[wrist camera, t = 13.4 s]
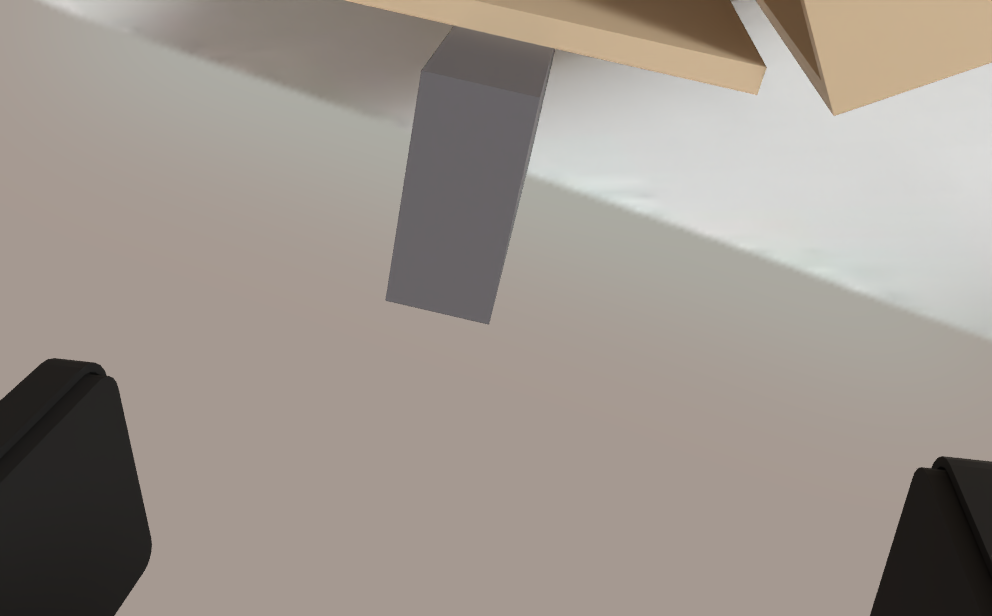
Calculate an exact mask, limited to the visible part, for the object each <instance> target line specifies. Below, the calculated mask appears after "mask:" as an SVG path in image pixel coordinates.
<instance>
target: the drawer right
mask: <svg viewBox="0 0 992 616" xmlns="http://www.w3.org/2000/svg"><path fill="white" fill-rule="evenodd" d="M345 1H349V2H354V3H358V4H362V5H367V6H371V7H376V8H380V9H384V10H389V11H393V12H397V13H402V14H406V15H410V16H415V17H419V18H424V19H428V20H432V21H437V22H441V23H445V24H450V25H454V27H453V28H452V29H451V31H450V32H449V33H448V35H447V36H446V38H445V39H444V40H443V42H442V43H441V44H440V46H439V47H438V49H437V50H436V51H435V53H434V54H433V55H432V57H431V58H430V60H429V61H428V62H427V64H426V65H425V66H424V68H423V69H422V71H421V77H420V83H419V90H418V96H417V102H416V109H415V115H414V122H413V128H412V134H411V141H410V147H409V154H408V160H407V166H406V173H405V179H404V186H403V192H402V199H401V205H400V211H399V218H398V224H397V231H396V237H395V243H394V250H393V256H392V262H391V269H390V275H389V281H388V289H387V294H386V301H389V302H394V303H398V304H403V305H407V306H411V307H415V308H420V309H424V310H429V311H433V312H437V313H442V314H446V315H450V316H454V317H459V318H463V319H467V320H472V321H476V322H480V323H485V324H489V322H490V318H491V314H492V310H493V306H494V302H495V298H496V294H497V290H498V286H499V282H500V278H501V274H502V270H503V266H504V262H505V258H506V254H507V250H508V245H509V241H510V238H511V233H512V230H513V225H514V221H515V217H516V213H517V209H518V205H519V201H520V197H521V193H522V189H523V185H524V181H525V177H526V173H527V169H528V165H529V161H530V156H531V152H532V148H533V143H534V139H535V134H536V130H537V126H538V121H539V117H540V112H541V108H542V104H543V99H544V95H545V91H546V86H547V82H548V77H549V73H550V69H551V64H552V60H553V55H554V51H555V49H559V50H563V51H567V52H572V53H576V54H580V55H585V56H589V57H594V58H598V59H602V60H607V61H611V62H615V63H620V64H624V65H628V66H633V67H637V68H641V69H646V70H650V71H655V72H659V73H663V74H668V75H672V76H676V77H681V78H685V79H689V80H694V81H698V82H703V83H707V84H711V85H716V86H720V87H724V88H729V89H733V90H737V91H742V92H746V93H750V94H755V95H757V94H758V91H759V88H760V85H761V82H762V79H763V76H764V74H765V71H766V68H767V67H766V65H765V64H764V62H763V60H762V58H761V56H760V54H759V53H758V51H757V49H756V47H755V45H754V43H753V42H752V40H751V38H750V36H749V34H748V33H747V31H746V29H745V27H744V25H743V23H742V22H741V20H740V18H739V16H738V14H737V12H736V11H735V9H734V7H733V5H732V3H731V2H730V0H345Z"/></svg>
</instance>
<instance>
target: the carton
mask: <svg viewBox="0 0 992 616" xmlns="http://www.w3.org/2000/svg"><path fill="white" fill-rule="evenodd" d="M756 2H757V3H758V5H759V6H760V8H761V9H762V11H763V12H764V13H765V15H766V16H767V18H768V19H769V21H770V22H771V24H772V25H773V27H774V28H775V30H776V31H777V33H778V34H779V36H780V37H781V39H782V40H783V42H784V43H785V45H786V46H787V47H788V49H789V50H790V52H791V53H792V55H793V56H794V58H795V59H796V61H797V62H798V64H799V65H800V67H801V68H802V70H803V71H804V73H805V74H806V76H807V77H808V79H809V80H810V81H811V83H812V84H813V86H814V87H815V89H816V90H817V92H818V93H819V95H820V96H821V98H822V99H823V101H824V102H825V104H826V105H827V107H828V108H829V110H830V111H831V113H832V114H833V115H834V116H835V115H838V114H841V113H844V112H847V111H850V110H853V109H856V108H859V107H862V106H865V105H868V104H871V103H874V102H877V101H880V100H883V99H886V98H888V97H891V96H894V95H897V94H900V93H903V92H906V91H909V90H912V89H915V88H918V87H921V86H924V85H927V84H930V83H933V82H936V81H939V80H941V79H944V78H947V77H950V76H953V75H956V74H959V73H962V72H965V71H968V70H971V69H974V68H977V67H980V66H983V65H986V64H989V63H992V0H756Z"/></svg>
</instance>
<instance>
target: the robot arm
mask: <svg viewBox="0 0 992 616" xmlns="http://www.w3.org/2000/svg"><path fill="white" fill-rule="evenodd" d="M151 547H152V543H151V536H150V531H149V526H148V522H147V517H146V513H145V508H144V503H143V499H142V495H141V490H140V485H139V480H138V476H137V471H136V467H135V463H134V458H133V453H132V449H131V444H130V439H129V435H128V430H127V425H126V421H125V417H124V412H123V407H122V403H121V398H120V393H119V389H118V386H117V383H116V381H115V380H114V379H113V378H112V377H110V376H106V373H105V370H104V369H103V368H102V367H101V365H99V364H96V363H92V362H83V361H74V360H65V359H56V358H53V359H48V360H46V361H44V362H43V363H41V364H40V365H39V366H38V367H37V368H36V369H35V370H34V371H32V373H30V374H29V375H28V376H27V377H26V378H25V379H24V380H23V381H21V382H20V383H19V384H18V385H17V386H16V387H15V388H14V389H13V390H12V391H11V392H9V393H8V394H7V395H6V396H5V397H4V398H3V399H2V400H0V616H114V615H115V614H116V612H117V611H118V609H119V608H120V606H121V605H122V603H123V602H124V600H125V599H126V597H127V596H128V595H129V593H130V591H131V590H132V588H133V587H134V585H135V584H136V583H137V581H138V580H139V578H140V577H141V575H142V574H143V572H144V571H145V569H146V567H147V565H148V562H149V559H150V555H151ZM870 616H992V462H989V461H979V460H971V459H962V458H952V457H943V456H942V457H939V458H937V459H936V461H935V462H934V464H933V466H932V468H922V467H921V468H918V469H917V470H916V472H915V473H914V476H913V479H912V482H911V485H910V488H909V492H908V495H907V498H906V501H905V504H904V507H903V511H902V514H901V517H900V521H899V524H898V527H897V530H896V533H895V537H894V540H893V543H892V546H891V550H890V553H889V556H888V559H887V562H886V566H885V569H884V572H883V575H882V579H881V582H880V585H879V589H878V592H877V595H876V598H875V601H874V604H873V608H872V611H871V614H870Z"/></svg>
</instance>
